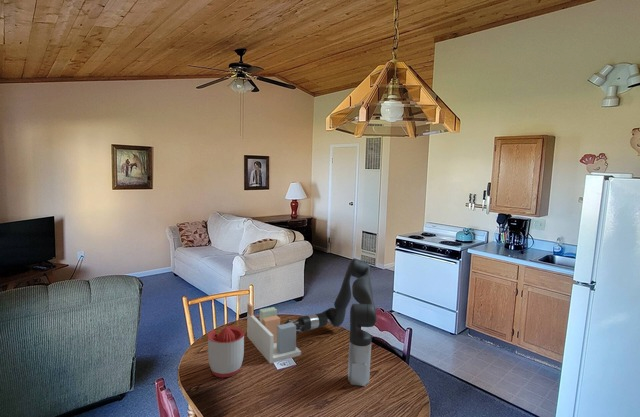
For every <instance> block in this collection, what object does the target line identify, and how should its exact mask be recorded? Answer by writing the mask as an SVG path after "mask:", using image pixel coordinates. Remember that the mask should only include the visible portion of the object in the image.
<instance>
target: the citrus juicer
mask: <svg viewBox="0 0 640 417" xmlns="http://www.w3.org/2000/svg"><path fill="white" fill-rule="evenodd" d="M245 334H246V332H245V331H244V329H242V328H241V327H239V326H232V325H228V326H226V325H225V326H224V328H223V329H222V330H221V331H220V332H219V333H216V330H214V329H211V330H210V331H209V332H208V333H207V358H208V365H209V368H210V370H211V372H212V374H213V375H214V376H216V377H218V378H220V379H221V378H230V377H233V376H235V375H237V374H238V373H239V372H240V370H241V368H242V364H243V360H244V353H245Z"/></svg>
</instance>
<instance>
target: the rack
mask: <svg viewBox="0 0 640 417" xmlns="http://www.w3.org/2000/svg"><path fill="white" fill-rule="evenodd" d="M253 306H254V305H252V304H251V303H249V302H247V312H246V313H247V316H246V320H247V321H246V324H247V325H246V328H247V329H246V330H247V332H246V337H247V338H248V339H249V341H250V342H251V343H252V344H253V345H254V346H255V347H256V348H257V350H258V351H259V352H260V354H261V355H262V356H263V357H264V358H265V359H266V361H267V362H268V363H269V364H274V363H276V362H281V361H284V360H288V359H292V358H297V357H300V356H302V350H300V349H299V347H297V346H296V350H294V351H290V352H286V353H282V354H280V353H279V352H278V351H277V343H274V335H273V334H272V333H271V332H270V331H269V330H268V329H267V328H266V327H265V326H264V325H263V324H262V323H261V322H260V321H259V319H258V318H257V317H256V316H255V315H254V312H253V311H254V307H253Z"/></svg>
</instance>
